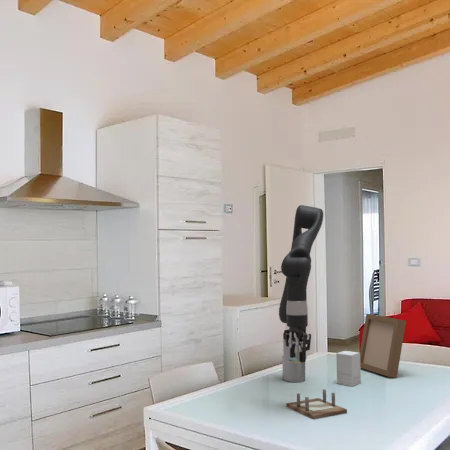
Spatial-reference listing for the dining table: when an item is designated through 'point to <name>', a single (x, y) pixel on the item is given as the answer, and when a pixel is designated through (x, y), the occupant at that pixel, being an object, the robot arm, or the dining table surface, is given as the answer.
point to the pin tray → (316, 407)
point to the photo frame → (382, 344)
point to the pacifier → (295, 359)
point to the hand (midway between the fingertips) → (297, 360)
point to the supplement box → (348, 368)
